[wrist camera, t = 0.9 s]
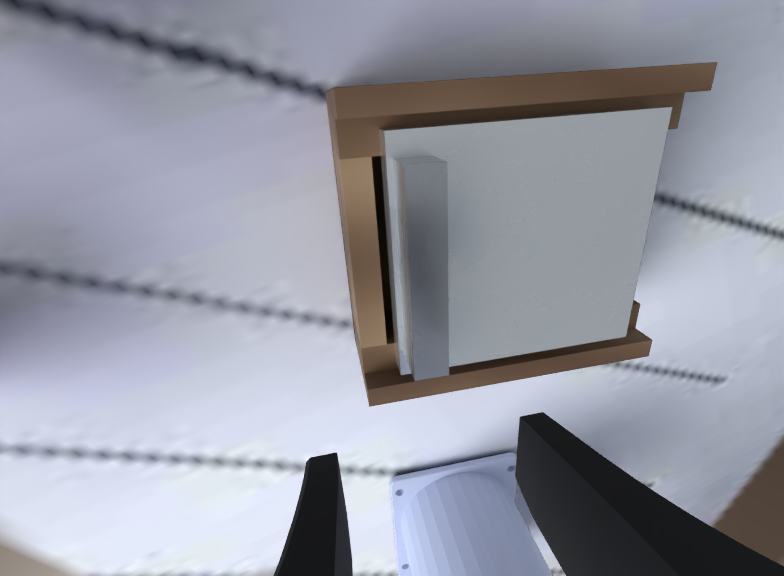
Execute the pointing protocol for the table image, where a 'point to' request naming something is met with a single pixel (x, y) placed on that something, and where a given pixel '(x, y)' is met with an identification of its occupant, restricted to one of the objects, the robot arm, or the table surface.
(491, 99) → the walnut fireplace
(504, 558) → the robot arm
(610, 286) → the cover plate
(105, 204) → the table surface
